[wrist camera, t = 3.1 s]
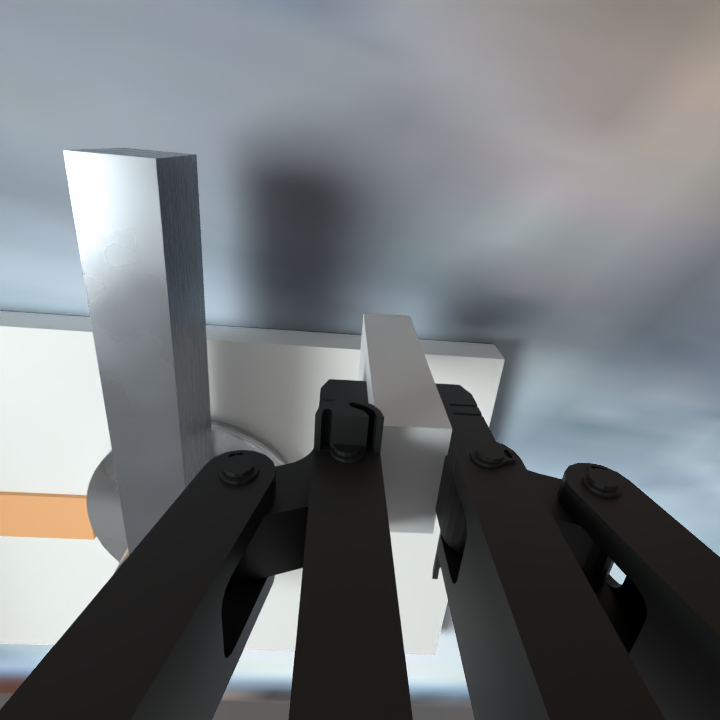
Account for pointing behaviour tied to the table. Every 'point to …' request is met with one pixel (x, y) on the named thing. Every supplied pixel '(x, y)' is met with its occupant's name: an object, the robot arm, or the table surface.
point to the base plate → (227, 404)
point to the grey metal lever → (146, 335)
